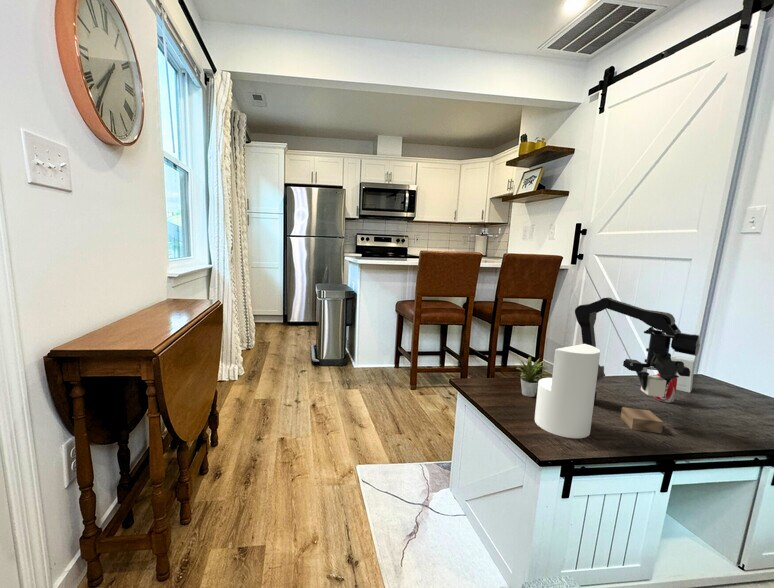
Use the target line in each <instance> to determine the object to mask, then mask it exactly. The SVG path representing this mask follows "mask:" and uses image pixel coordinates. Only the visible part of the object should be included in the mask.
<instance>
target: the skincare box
mask: <svg viewBox="0 0 774 588" xmlns="http://www.w3.org/2000/svg"><path fill="white" fill-rule="evenodd" d="M671 360H672V361H682V362H683V363H684V366H685V367H687V368H689V369H690V372H691V373H690V377H687V376H680V375H679V374H678V373H677V376H679V377H678V378H677V386H676V391H681V392H685V393H691V392H692V390H693V383H694V382H693V380H694V370H695V365H696V364H695V363H696V358H691V357H684V356H679V355H678V356H677V355H671Z"/></svg>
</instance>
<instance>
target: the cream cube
mask: <svg viewBox="0 0 774 588" xmlns="http://www.w3.org/2000/svg"><path fill="white" fill-rule="evenodd" d="M656 375H657V374H656ZM656 375H655V374H649V375H648V377H647V385H646V390H643V389H642V385H641V384H640V391H641V392H643V393H644V394H646V395H647V396H651V397H654V396H658V397H664V393H665V387H666V380H665V379H663V378H661V377H660V376H656Z"/></svg>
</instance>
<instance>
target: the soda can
mask: <svg viewBox="0 0 774 588" xmlns="http://www.w3.org/2000/svg"><path fill="white" fill-rule="evenodd" d="M656 376H660V373H659V372H658V373H657V374H656ZM676 386H677V378H674V379H672V380H671V381H670V382H669V383H668V384H667V386H666V387H665V393H664V397H658V396H653V398H654V399H656V400H657V401H659V402H662V403H665V404H670V403H673V402H675V401H674V400H675V397H676V392H677V390H676Z"/></svg>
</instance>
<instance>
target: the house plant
mask: <svg viewBox="0 0 774 588" xmlns="http://www.w3.org/2000/svg"><path fill="white" fill-rule="evenodd" d="M540 359H541V358H538V359H537V360H536V361H535V362H534V363H532V357H531V355H530V356H528V358H527V361H526V360H525V361H524V360H522V359H521V358H519V361H520V363H521V367H522V368H523V369H522V368H521V367H515V369H516V370H519V371H520V372H521V373H520V385H521V387H520V388H521V394H522V395H523V396H525V397H529V398H533V397H534V398H535V397H536V395H537V391H538V381H539V380H540V379H542V376H543V377H544V376H545V377H547V375H546V372H543V370H547V367H549V366H552V365H549V364H544V365H542V364H543V363H544V362H545V360H542V361H540ZM539 361H540V362H539ZM525 362H526V364H525ZM538 378H539V379H538Z"/></svg>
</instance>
